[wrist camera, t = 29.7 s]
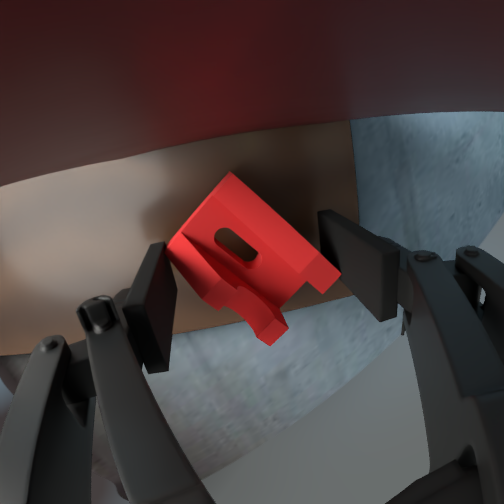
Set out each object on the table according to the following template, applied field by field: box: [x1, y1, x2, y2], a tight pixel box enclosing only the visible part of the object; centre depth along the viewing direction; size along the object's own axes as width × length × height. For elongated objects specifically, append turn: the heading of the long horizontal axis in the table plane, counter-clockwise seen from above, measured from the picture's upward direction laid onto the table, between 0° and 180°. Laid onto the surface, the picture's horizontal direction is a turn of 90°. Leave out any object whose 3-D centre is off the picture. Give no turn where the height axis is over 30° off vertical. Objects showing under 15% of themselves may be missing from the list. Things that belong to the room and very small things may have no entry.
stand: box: [0, 120, 359, 356], centre depth 16 cm, size 17×30×1 cm, turn 99°
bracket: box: [164, 171, 341, 346], centre depth 15 cm, size 6×5×3 cm
